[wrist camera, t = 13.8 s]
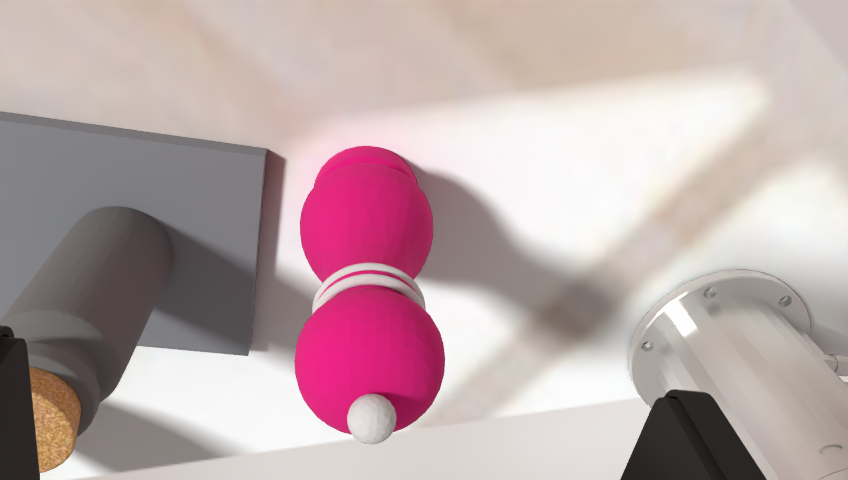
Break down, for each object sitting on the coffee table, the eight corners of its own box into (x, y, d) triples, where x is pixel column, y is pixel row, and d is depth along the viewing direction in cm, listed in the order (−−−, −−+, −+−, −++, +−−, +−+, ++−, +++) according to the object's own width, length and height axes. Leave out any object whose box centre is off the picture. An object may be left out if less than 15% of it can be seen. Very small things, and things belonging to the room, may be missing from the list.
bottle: (191, 236, 41) (113, 414, 28) (148, 307, 43) (55, 504, 30) (94, 186, 39) (-40, 353, 26) (53, 263, 41) (-90, 453, 28)
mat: (267, 148, 40) (264, 156, 39) (250, 344, 47) (247, 355, 45) (-37, 106, 38) (-48, 113, 36) (-10, 319, 44) (-19, 331, 43)
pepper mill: (422, 247, 44) (464, 506, 27) (305, 245, 43) (271, 510, 26) (430, 139, 41) (485, 354, 23) (304, 134, 40) (262, 353, 22)
